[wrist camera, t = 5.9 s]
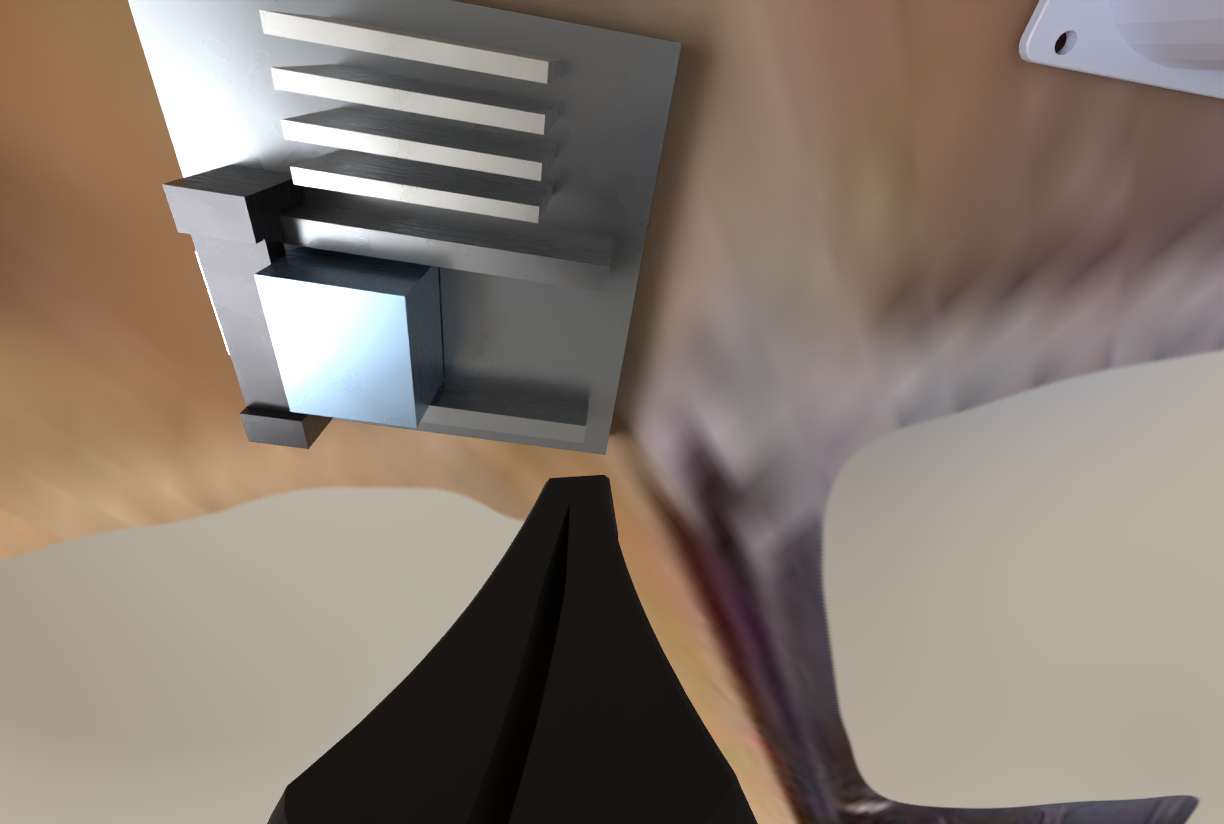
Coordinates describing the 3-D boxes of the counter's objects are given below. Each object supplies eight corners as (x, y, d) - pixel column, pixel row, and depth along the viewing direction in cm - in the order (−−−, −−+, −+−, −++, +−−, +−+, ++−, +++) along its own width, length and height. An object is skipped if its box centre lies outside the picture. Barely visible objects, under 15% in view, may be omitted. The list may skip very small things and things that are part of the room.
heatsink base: (677, 43, 14) (694, 42, 11) (606, 436, 22) (602, 507, 19) (146, -56, 13) (-22, -91, 10) (273, 392, 21) (205, 458, 18)
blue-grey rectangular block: (437, 260, 16) (404, 296, 14) (443, 379, 19) (416, 428, 17) (211, 225, 16) (137, 256, 14) (249, 353, 19) (192, 399, 16)
